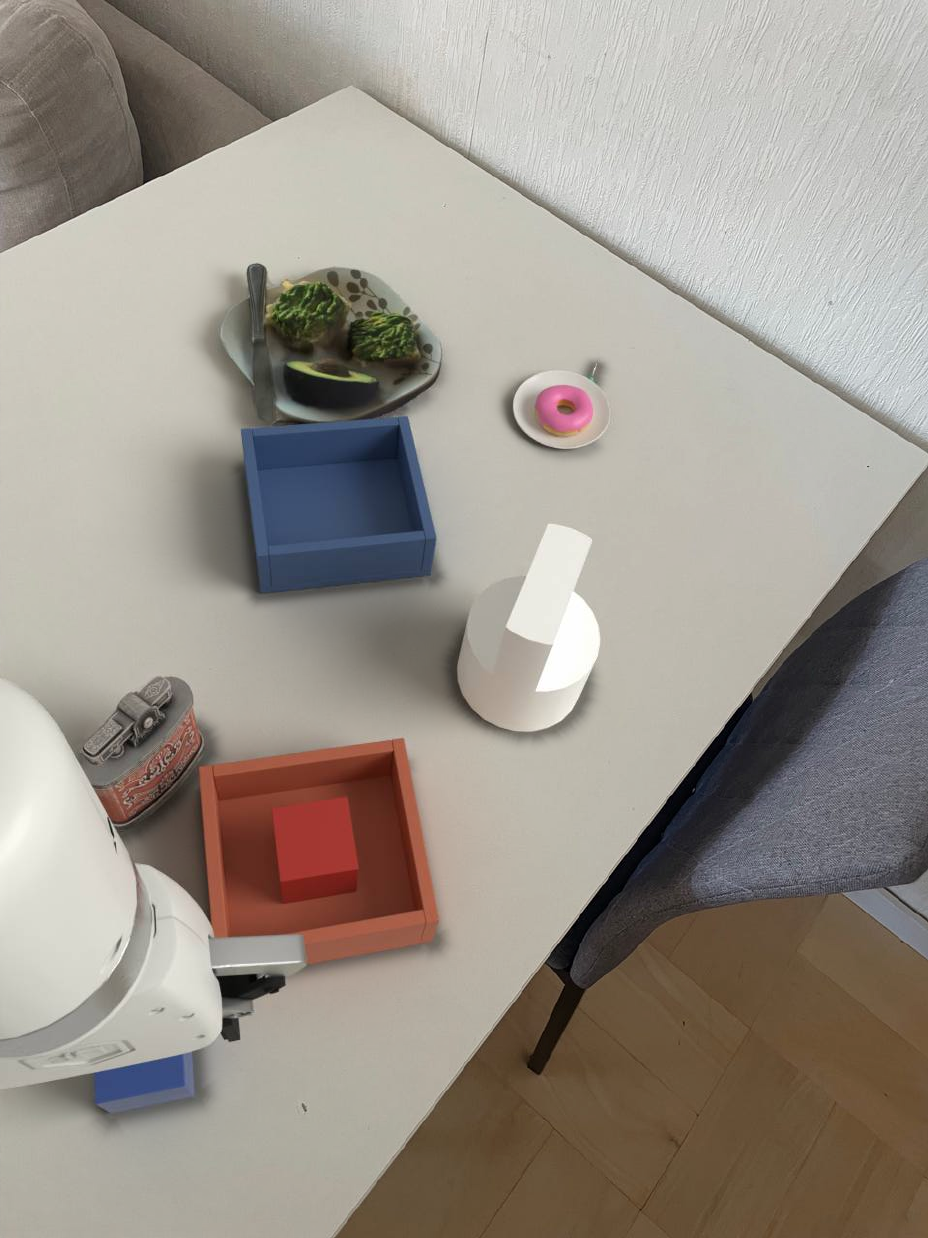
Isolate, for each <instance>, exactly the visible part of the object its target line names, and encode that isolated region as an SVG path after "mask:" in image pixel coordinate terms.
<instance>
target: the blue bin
mask: <svg viewBox="0 0 928 1238" xmlns="http://www.w3.org/2000/svg"><path fill="white" fill-rule="evenodd" d="M240 435H241V437H240V438H241V445H242V446H241V447H242V456H243V465H244V473H245V481H246V482H245V483H246V489H247V497H248V506H249V513H250V521H251V529H252V537H253V544H254V545H253V546H254V552H255V561H256V568H257V569H256V570H257V575H258V576H257V577H258V584H259V593H260V594H261V595H262V594H263V595H264V594H273V593H280V592H291V591H299V590H307V589H318V588H325V587H335V586H336V587H337V586H344V585H345V586H346V585H353V584H354V585H355V584H362V583H363V584H364V583H372V582H381V581H382V582H383V581H389V580H390V581H391V580H400V579H409V578H417V577H426V576H431V575H432V569H433V563H434V556H435V550H436V549H435V548H436V544H437V533H436V530H435V526H434V521H433V516H432V513H431V508H430V503H429V500H428V499H429V498H428V496H427V491H426V488H425V487H426V486H425V483H424V478H423V474H422V471H421V466H420V465H421V464H420V461H419V457H418V454H417V449H416V446H415V440H414V435H413V432H412V427H411V423H410V418H409V416H408V415H403V416H401V415H400V416H391V417H377V418H373V419H365V420H351V421H338V422H325V423H312V424H299V425H298V424H289V425H287V424H286V425H276V426H275V425H274V426H263V427H245V428H244V427H243V428H240Z"/></svg>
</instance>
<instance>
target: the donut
mask: <svg viewBox="0 0 928 1238" xmlns="http://www.w3.org/2000/svg"><path fill="white" fill-rule="evenodd" d="M596 368H597V363H595V366H594V368H593V371H592V373H591V377H589V378H588V377H586V376H584V375H582V374H579V373H577V372H573V371H569V370H559V369H553V370H547V371H542V372H539V373H536V374H534V375H532V376H530V377H528V378H527V379H525V380H524V381H523V382H522V383H521V384H520V386H519V387H518V389H517V390H516V392H515V393H514V396H513V399H512V412H513V417H514V419H515V421H516V424H517V425H518V426H519V428H520V429H521V431H522V432H524V434H526V436H528V437H529V438H531V439H532V440H534V441H535V442H537V443H539V444H540V445H541V444H542V445H543V446H546V447H550V448H555V449H563V450H570V449H578V448H581V447H585V446H587V445H590V444H592V443H594V442H595V441H596V440H598V439H599V438H600V437H602V436H603V434H604V433H605V432H606V430H607V428H608V426H609V424H610V421H611V418H612V417H611V416H612V415H611V413H612V412H611V406H610V402H609V399H608V397H607V395H606V393H605V392H604V391H603V389H601V387H600V386H599V385H598V384H597V383H595V382H594V377H592V376H594V373H595V371H596Z"/></svg>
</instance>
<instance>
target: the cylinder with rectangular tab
mask: <svg viewBox="0 0 928 1238" xmlns="http://www.w3.org/2000/svg"><path fill="white" fill-rule="evenodd" d="M592 543H593V539H592V538H591V537H590V536H589V535H587V534H585V533H582V532H580V531H578V530H576V529H574V528H572V527H568V526H566V525H565V526H564V525H560V524H556V523H547V526H546V528H545V531H544V533H543V535H542V538H541V541H540V542H539V545H538V548H537V550H536V552H535V555H534V557H533V560H532V562H531V565H530V567H529V570H528V572H527V574H526V575H517V576H512V577H507V578H504V579H501V580H499V581H497V582H494V583H493V584H490V585H489V586H488V587H487V588H485V589H484V590H483V591H482V592H481V593H480V594H478V596H477V598H476V599H475V601H474V602H473V603H472V605H471V607H470V609H469V613H468V617H467V621H466V625H465V629H464V634H463V638H462V643H461V648H460V652H459V656H458V659H457V660H458V661H457V665H456V671H457V672H456V673H457V683H458V686H459V689H460V692H461V694H462V697H463V698H464V699H465V700H466V702H467V704H468V706H469V707H470V708H471V709H472V710H473V711H474V712H475V713H476V714H478V715H479V716H480V718H482V719H483V720H485V721H486V722H488V723H490V724H492V725H494V726H496V727H497V728H500V729H504V730H509V731H512V732H524V733H525V732H528V733H529V732H531V733H532V732H537V731H541V730H545V729H549V728H551V727H552V726H554V725H556V724H558V723H560V722H561V721H563V720H564V719H565V718H566V717H567V716H568V715H569V714H570V713H571V712H572V711H573V710H574V708H575V705H576V704H577V701H578V700H579V698H580V696H581V694H582V691H583V690H584V687H585V685H586V683H587V680H588V678H589V676H590V674H591V672H592V669H593V668H594V666H595V663H596V661H597V658H598V656H599V652H600V646H601V634H600V625H599V623H598V621H597V619H596V616H595V614H594V612H593V610H592V609H591V608H590V606H589V605H588V604H587V602H586V601H585V600H584V598H583V597H581V596H580V595H579V594H577V593H576V592H575V589H576V586H577V583H578V580H579V578H580V576H581V572H582V570H583V566H584V565H585V562H586V560H587V556H588V554H589V551H590V548H591V546H592Z"/></svg>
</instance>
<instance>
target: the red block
mask: <svg viewBox="0 0 928 1238" xmlns="http://www.w3.org/2000/svg"><path fill="white" fill-rule="evenodd" d="M271 810H272V818H273V827H274V835H275V844H276V852H277V861H278V869H279V878H280V886H281V894H282V902H283V904H287V903H293V902H299V901H305V900H311V899H317V898H322V897H328V896H334V895H340V894H346V893H352V892H356V891H357V881H358V869H359V868H358V862H357V855H356V849H355V843H354V836H353V830H352V824H351V817H350V811H349V805H348V798H347V797H341V798H334V799H328V800H321V801H315V802H308V803H301V804H295V805H288V806H282V807H275V808H272V809H271Z"/></svg>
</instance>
